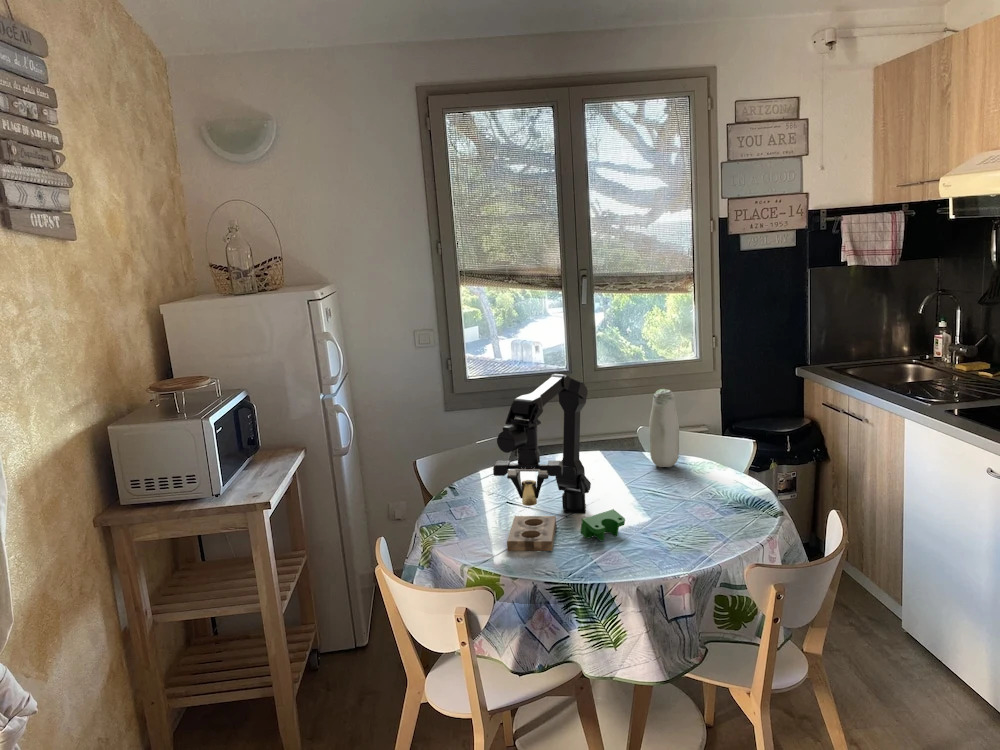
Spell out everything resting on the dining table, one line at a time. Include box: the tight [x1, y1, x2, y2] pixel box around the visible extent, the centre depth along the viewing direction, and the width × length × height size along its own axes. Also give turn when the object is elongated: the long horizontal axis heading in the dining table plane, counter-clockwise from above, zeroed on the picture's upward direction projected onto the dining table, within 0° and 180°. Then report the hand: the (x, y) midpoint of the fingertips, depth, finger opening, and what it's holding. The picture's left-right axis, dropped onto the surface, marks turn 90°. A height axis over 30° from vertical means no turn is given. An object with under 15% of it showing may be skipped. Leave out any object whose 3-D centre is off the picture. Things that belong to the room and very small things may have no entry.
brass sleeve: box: [521, 479, 538, 507], centre depth 204 cm, size 4×4×6 cm
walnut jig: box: [506, 515, 557, 552], centre depth 206 cm, size 12×18×3 cm
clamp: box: [580, 508, 626, 542], centre depth 205 cm, size 12×6×9 cm, turn 114°
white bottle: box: [648, 388, 680, 468], centre depth 257 cm, size 10×10×28 cm
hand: (529, 498), depth 204 cm, fingers closed on brass sleeve, 4 cm apart
